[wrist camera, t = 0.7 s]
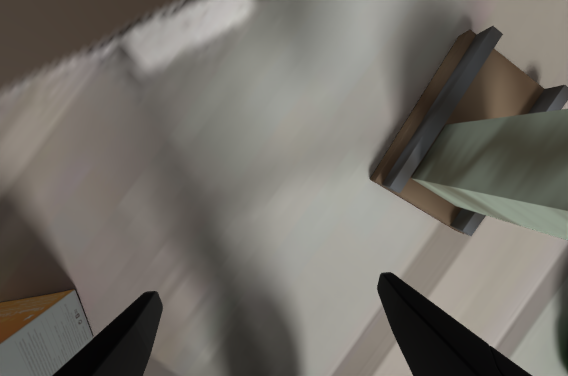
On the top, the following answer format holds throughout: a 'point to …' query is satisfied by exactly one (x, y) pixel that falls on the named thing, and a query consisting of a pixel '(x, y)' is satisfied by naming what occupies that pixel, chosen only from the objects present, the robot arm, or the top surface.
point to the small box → (41, 333)
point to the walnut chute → (460, 117)
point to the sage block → (504, 169)
